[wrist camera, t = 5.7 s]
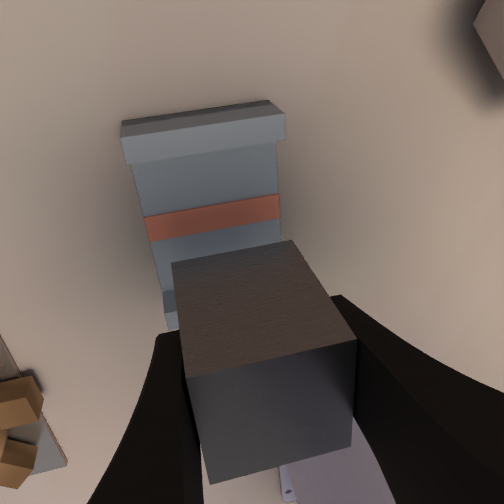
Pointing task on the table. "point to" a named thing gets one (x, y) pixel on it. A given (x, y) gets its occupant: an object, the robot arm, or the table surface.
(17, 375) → the thin square base plate
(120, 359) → the table surface
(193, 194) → the seat
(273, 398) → the dark grey block
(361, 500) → the robot arm
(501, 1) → the grey faceted polyhedron
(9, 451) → the sprocket
